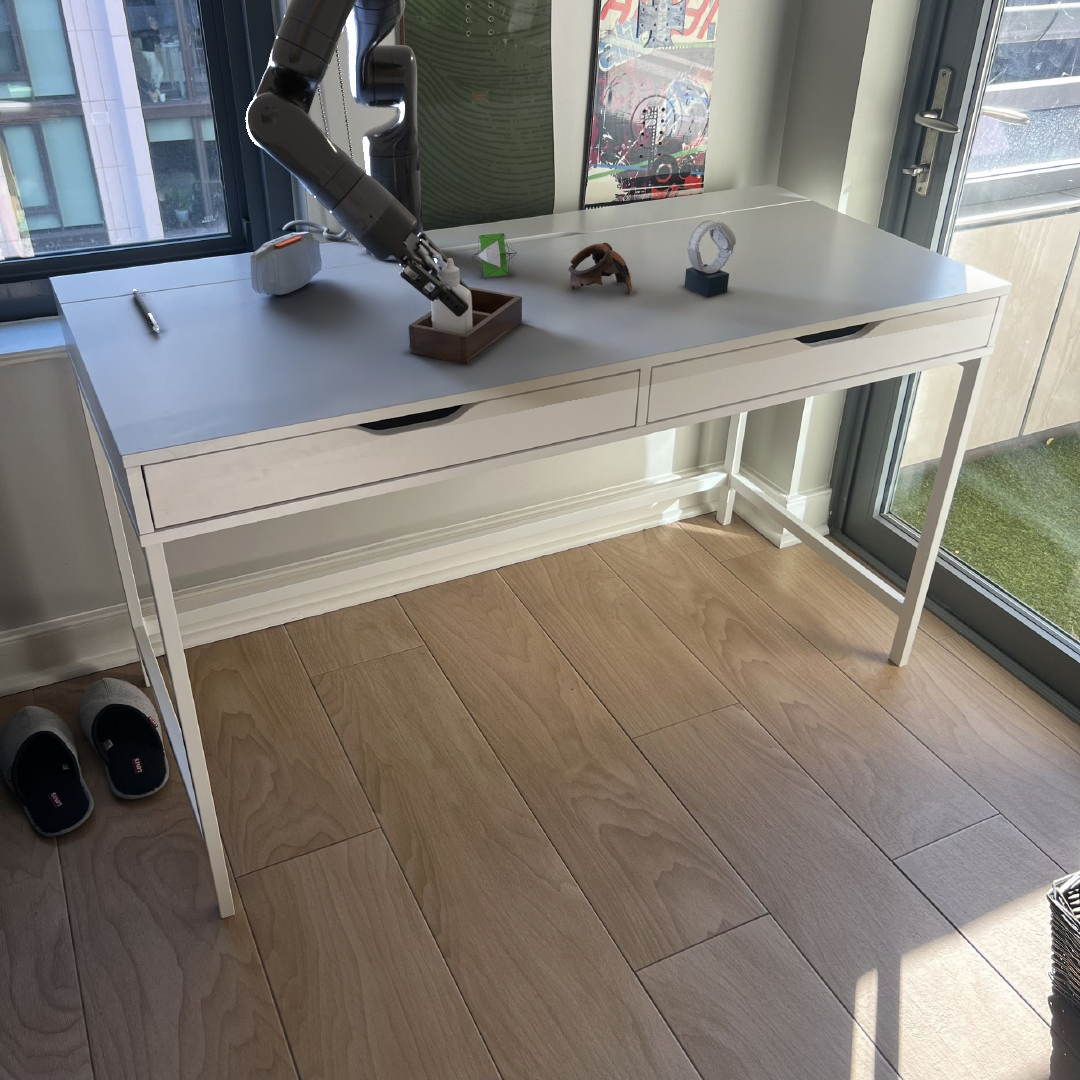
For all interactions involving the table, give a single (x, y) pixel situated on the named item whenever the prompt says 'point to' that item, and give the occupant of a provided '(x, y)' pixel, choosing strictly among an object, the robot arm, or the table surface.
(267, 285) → the white plastic case
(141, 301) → the pen
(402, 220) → the robot arm
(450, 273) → the eye dropper bottle
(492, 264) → the geometric puzzle
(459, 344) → the brown wooden divided tray
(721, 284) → the watch
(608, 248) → the broken clay pot
